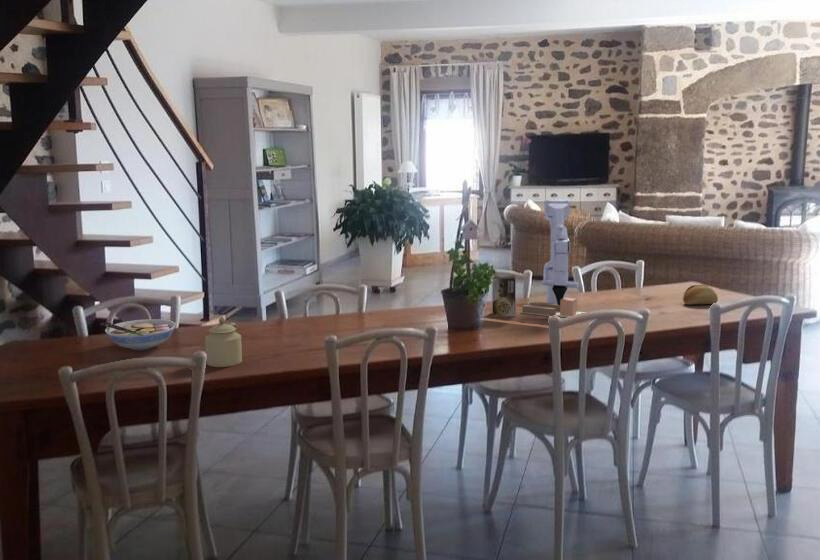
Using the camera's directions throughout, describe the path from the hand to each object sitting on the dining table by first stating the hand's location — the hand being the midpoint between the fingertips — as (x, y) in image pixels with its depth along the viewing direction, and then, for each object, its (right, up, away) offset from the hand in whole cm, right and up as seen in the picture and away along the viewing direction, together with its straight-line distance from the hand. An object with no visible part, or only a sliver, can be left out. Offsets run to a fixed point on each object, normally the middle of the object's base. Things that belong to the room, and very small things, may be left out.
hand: (559, 304), depth 295 cm
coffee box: (-22, -5, 0) cm, 22 cm away
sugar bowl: (-118, -16, -55) cm, 131 cm away
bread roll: (+62, -1, +19) cm, 65 cm away
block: (+3, -4, -1) cm, 5 cm away
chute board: (-1, -4, +2) cm, 5 cm away
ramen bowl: (-150, -14, -39) cm, 155 cm away
